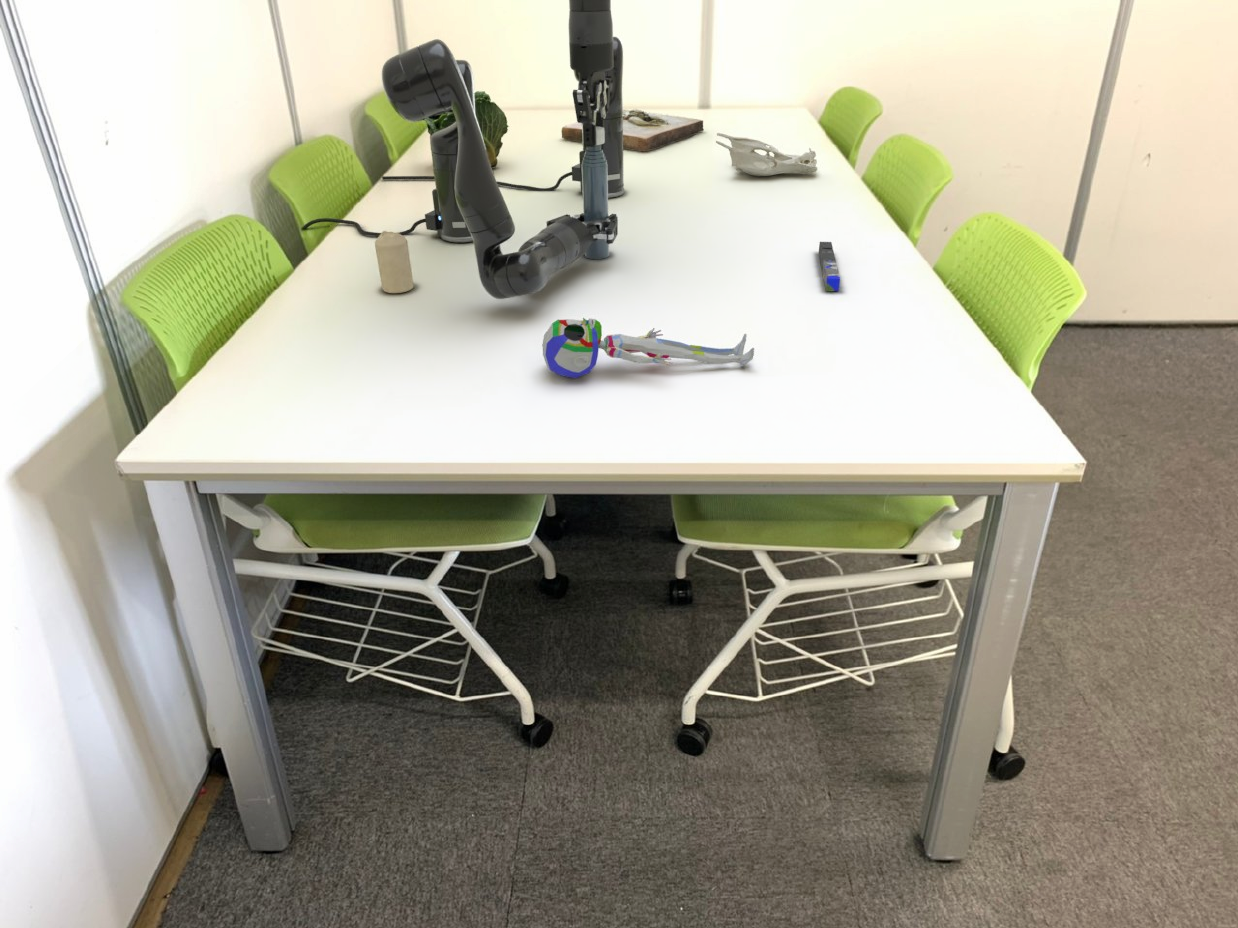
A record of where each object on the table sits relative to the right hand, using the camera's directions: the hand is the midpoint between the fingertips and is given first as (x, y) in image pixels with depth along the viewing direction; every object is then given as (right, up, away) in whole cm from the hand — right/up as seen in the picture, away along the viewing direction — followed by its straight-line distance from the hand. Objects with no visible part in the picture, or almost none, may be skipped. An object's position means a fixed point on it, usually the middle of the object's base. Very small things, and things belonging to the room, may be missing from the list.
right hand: (594, 143), depth 162 cm
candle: (-35, -27, -2) cm, 44 cm away
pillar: (+43, -23, +2) cm, 48 cm away
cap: (0, +2, -1) cm, 2 cm away
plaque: (+9, +37, +97) cm, 104 cm away
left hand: (+1, -11, +10) cm, 15 cm away
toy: (+9, -44, -31) cm, 54 cm away
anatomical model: (+41, +14, +60) cm, 74 cm away
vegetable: (-34, +18, +68) cm, 78 cm away
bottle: (0, -18, +11) cm, 21 cm away
